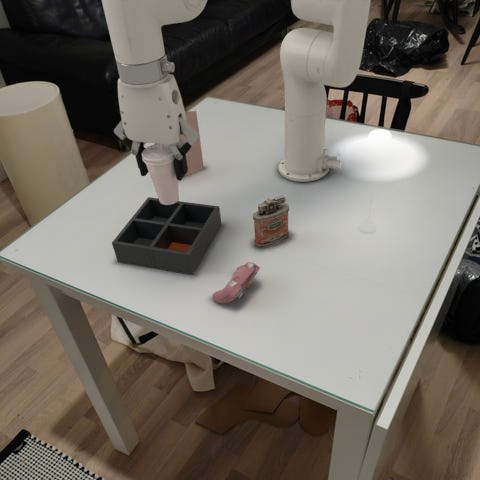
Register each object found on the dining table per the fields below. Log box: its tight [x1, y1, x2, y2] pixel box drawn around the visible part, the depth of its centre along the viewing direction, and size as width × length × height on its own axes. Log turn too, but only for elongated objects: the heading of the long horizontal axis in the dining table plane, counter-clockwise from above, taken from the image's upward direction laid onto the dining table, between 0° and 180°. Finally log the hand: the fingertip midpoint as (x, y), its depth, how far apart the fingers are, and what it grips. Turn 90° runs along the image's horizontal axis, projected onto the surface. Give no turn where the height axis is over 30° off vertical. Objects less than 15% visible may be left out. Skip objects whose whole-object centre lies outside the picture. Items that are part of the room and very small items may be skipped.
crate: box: [111, 196, 223, 276], centre depth 103 cm, size 17×17×5 cm
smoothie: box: [142, 143, 180, 205], centre depth 86 cm, size 6×6×14 cm
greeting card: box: [154, 110, 205, 178], centre depth 119 cm, size 11×7×15 cm, turn 92°
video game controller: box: [212, 261, 261, 304], centre depth 91 cm, size 10×5×7 cm, turn 148°
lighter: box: [252, 194, 290, 249], centre depth 99 cm, size 8×3×10 cm, turn 118°
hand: (164, 173), depth 87 cm, fingers closed on smoothie, 6 cm apart
